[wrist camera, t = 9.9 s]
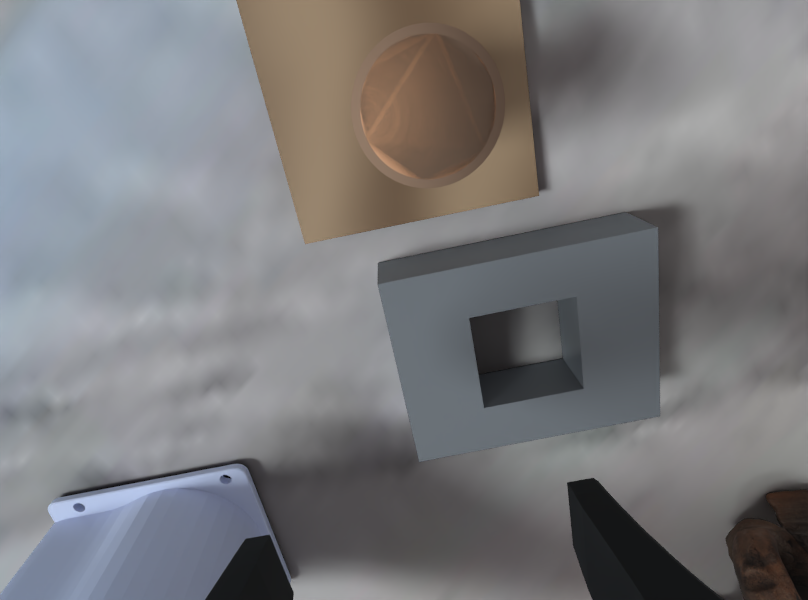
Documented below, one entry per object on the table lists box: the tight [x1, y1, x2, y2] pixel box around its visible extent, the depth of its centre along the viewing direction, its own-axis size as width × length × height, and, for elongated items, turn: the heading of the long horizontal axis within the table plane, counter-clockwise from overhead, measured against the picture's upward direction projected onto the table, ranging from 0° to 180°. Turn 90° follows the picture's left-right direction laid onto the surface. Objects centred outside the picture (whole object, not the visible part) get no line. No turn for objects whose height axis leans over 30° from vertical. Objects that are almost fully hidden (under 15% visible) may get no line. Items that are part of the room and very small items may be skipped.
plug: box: [351, 23, 505, 188], centre depth 14 cm, size 3×3×7 cm
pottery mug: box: [726, 490, 808, 600], centre depth 25 cm, size 12×10×8 cm
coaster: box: [236, 0, 539, 244], centre depth 18 cm, size 9×9×1 cm
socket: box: [378, 212, 660, 462], centre depth 21 cm, size 10×8×2 cm
